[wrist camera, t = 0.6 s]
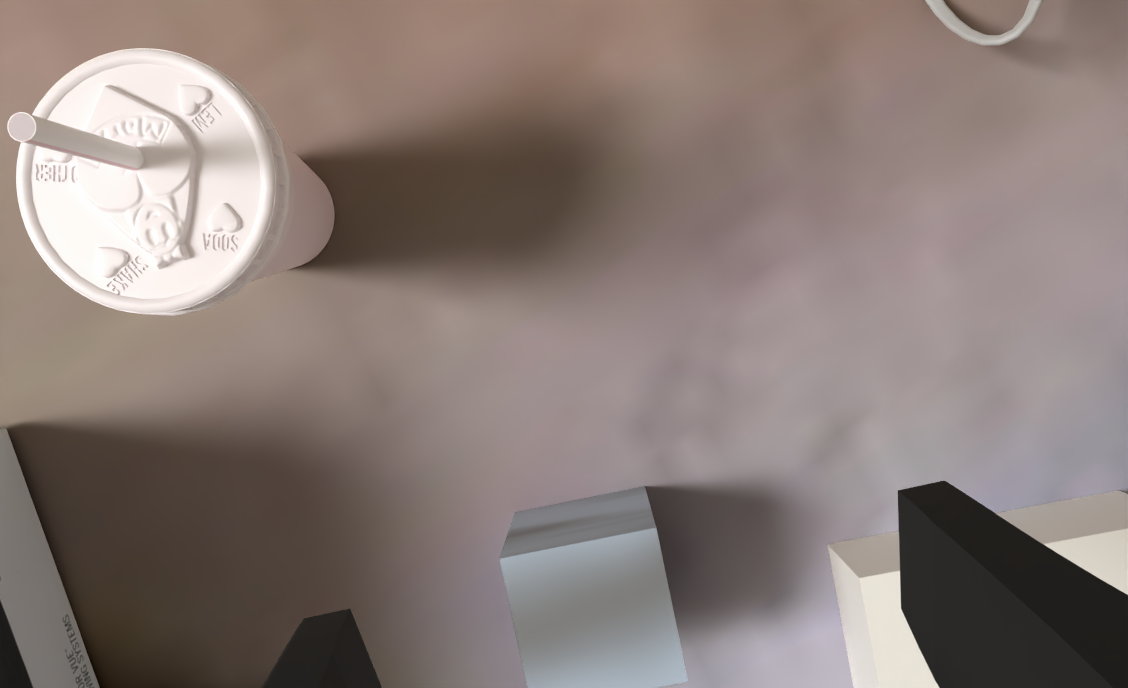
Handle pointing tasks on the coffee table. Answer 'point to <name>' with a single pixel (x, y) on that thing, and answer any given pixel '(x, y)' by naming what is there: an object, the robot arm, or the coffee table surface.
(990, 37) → the clip-on lamp
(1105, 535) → the base box
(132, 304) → the smoothie
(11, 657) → the tea box
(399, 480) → the coffee table surface
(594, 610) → the block
